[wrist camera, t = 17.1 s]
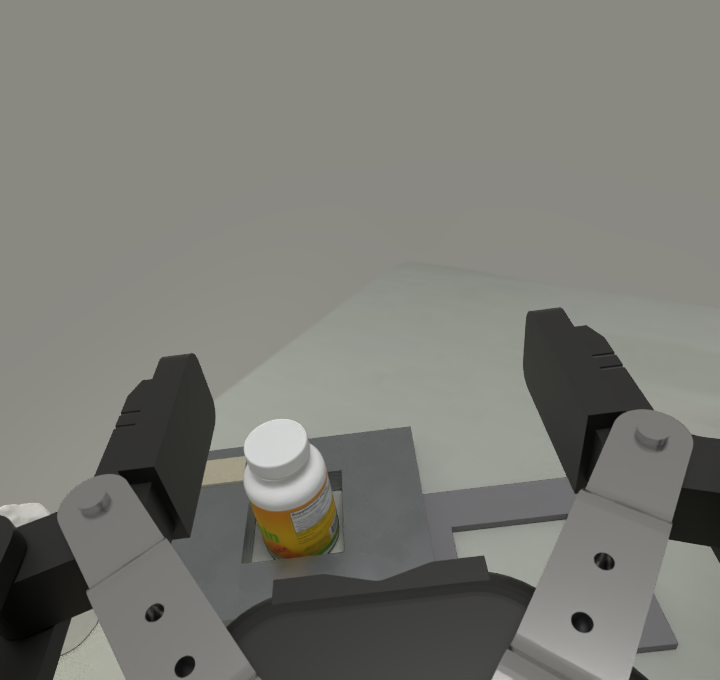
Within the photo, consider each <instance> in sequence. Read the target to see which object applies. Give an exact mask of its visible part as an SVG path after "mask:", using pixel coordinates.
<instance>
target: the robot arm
mask: <svg viewBox="0 0 720 680" xmlns="http://www.w3.org/2000/svg"><path fill="white" fill-rule="evenodd" d="M523 370H524V377H525V381H526V385H527V387H528V390H529V392H530V394H531V397H532V399H533V401H534V403H535V406H536V408H537V410H538V412H539V415H540V417H541V419H542V421H543V424H544V426H545V428H546V430H547V433H548V435H549V437H550V439H551V442H552V444H553V446H554V448H555V451H556V453H557V455H558V457H559V460H560V462H561V464H562V467H563V469H564V471H565V473H566V476H567V478H568V480H569V482H570V485H571V487H572V489H573V491H574V494H578V495H577V497H576V499H575V501H574V504H573V506H572V508H571V510H570V513H569V515H568V517H567V519H566V522H565V524H564V526H563V528H562V531H561V533H560V535H559V538H558V540H557V542H556V544H555V547H554V549H553V551H552V553H551V556H550V558H549V560H548V562H547V565H546V567H545V569H544V572H543V574H542V576H541V578H540V581H539V583H538V585H537V587H536V588H535V587H533V586H531V585H529V584H527V583H525V582H523V581H520V580H518V579H515V578H512V577H510V576H506V575H502V574H498V573H492V572H488V569H487V565H486V561H485V557H484V556H476V557H468V558H459V559H450V560H441V561H433V562H429V563H427V564H424V565H421V566H419V567H416V568H414V569H411V570H408V571H406V572H403V573H400V574H398V575H395V576H392V577H390V578H387V579H384V580H380V581H373V580H365V579H358V578H351V577H343V576H336V575H329V574H320V575H311V576H303V577H294V578H285V579H277V580H273V590H272V597H271V598H268V599H266V600H264V601H262V602H260V603H258V604H256V605H254V606H252V607H251V608H249V609H248V610H246V611H245V612H243V613H242V614H240V615H239V616H238V617H237V618H236V619H234V620H233V621H232V622H231V623H230V624H229V625H228V626H227V627H225V625H224V624H223V622H222V621H221V619H220V618H219V616H218V615H217V613H216V612H215V610H214V609H213V607H212V606H211V604H210V603H209V601H208V600H207V598H206V597H205V595H204V594H203V592H202V591H201V589H200V588H199V586H198V585H197V583H196V582H195V580H194V579H193V577H192V576H191V574H190V573H189V571H188V570H187V568H186V567H185V565H184V564H183V562H182V561H181V559H180V557H179V556H178V554H177V553H176V551H175V550H174V548H173V547H172V545H171V543H172V540H175V539H183V538H190V536H191V532H192V527H193V522H194V518H195V513H196V509H197V504H198V500H199V495H200V490H201V486H202V481H203V477H204V472H205V468H206V463H207V458H208V454H209V449H210V445H211V440H212V436H213V431H214V426H215V407H214V402H213V399H212V396H211V393H210V390H209V388H208V385H207V383H206V380H205V377H204V375H203V372H202V369H201V366H200V364H199V361H198V359H197V357H196V355H195V354H193V353H191V354H183V355H175V356H168V357H162V358H161V359H160V361H159V363H158V366H157V368H156V371H155V374H154V376H153V379H150V380H143V381H142V382H141V383H140V384H139V385H138V386H137V387H136V388H135V389H134V390H133V391H132V392H131V393H130V394H129V395H128V397H127V399H126V402H125V404H124V407H123V409H122V412H121V416H119V419H118V421H117V423H116V429H114V430H113V433H112V435H111V438H110V440H109V442H108V445H107V448H106V450H105V452H104V455H103V457H102V459H101V462H100V464H99V467H98V469H97V471H96V474H95V476H94V477H93V478H90V479H88V480H86V481H84V482H82V483H81V484H79V485H78V486H77V487H75V488H74V489H73V490H72V491H71V492H70V493H69V494H67V496H66V497H65V498H64V500H63V501H62V503H61V504H60V507H59V509H58V512H55V513H53V514H51V515H48V516H45V517H43V518H40V519H37V520H35V521H32V522H29V523H27V524H24V525H22V526H19V527H15V526H14V524H13V523H12V522H11V521H10V520H9V519H8V518H7V517H5V516H2V515H0V680H53V677H54V674H55V671H56V668H57V664H58V661H59V658H60V655H61V651H62V648H63V645H64V641H65V638H66V635H67V632H68V628H69V625H70V622H71V619H72V618H73V617H75V616H77V615H80V614H82V613H84V612H87V611H89V610H91V609H94V612H95V614H96V616H97V618H98V620H99V622H100V624H101V627H102V629H103V631H104V633H105V635H106V637H107V640H108V642H109V644H110V646H111V648H112V650H113V653H114V655H115V657H116V659H117V661H118V663H119V666H120V668H121V670H122V672H123V674H124V676H125V678H126V680H648V679H647V678H646V677H645V676H644V675H643V674H641V673H640V672H639V671H638V670H637V669H635V668H634V667H633V663H634V660H635V656H636V652H637V649H638V645H639V642H640V638H641V635H642V631H643V628H644V624H645V620H646V617H647V613H648V610H649V606H650V603H651V599H652V596H653V592H654V588H655V585H656V581H657V578H658V574H659V571H660V567H661V564H662V560H663V556H664V553H665V549H666V546H667V542H668V539H670V540H675V541H681V542H687V543H693V544H699V545H705V546H710V547H711V548H712V550H713V552H714V554H715V555H716V557H717V559H718V561H719V563H720V439H715V438H707V437H701V436H696V435H692V434H691V433H690V432H689V430H688V429H687V428H686V427H685V426H684V425H683V424H682V423H681V422H680V421H678V420H677V419H675V418H673V417H671V416H669V415H667V414H664V413H662V412H658V411H654V409H653V408H652V406H651V405H650V404H649V402H648V401H647V399H646V398H645V396H644V395H643V393H642V392H641V390H640V389H639V387H638V386H637V385H636V383H635V382H634V380H633V379H632V377H631V376H630V374H629V373H628V371H627V370H626V368H625V367H623V364H622V363H621V361H620V360H619V358H618V357H617V355H615V354H614V351H613V349H612V348H611V347H610V345H609V344H608V342H607V341H606V339H605V338H604V337H603V336H602V335H600V334H599V333H597V332H596V331H594V330H593V329H591V328H590V327H588V326H587V325H585V326H577V327H574V326H573V324H572V323H571V321H570V319H569V318H568V316H567V315H566V313H565V311H564V310H563V309H562V308H560V307H559V308H551V309H544V310H536V311H529V312H528V313H527V317H526V327H525V342H524V356H523Z"/></svg>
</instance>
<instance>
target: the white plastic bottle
mask: <svg viewBox="0 0 720 680" xmlns="http://www.w3.org/2000/svg"><path fill="white" fill-rule="evenodd" d="M0 515H2V516H5V517H7V518H8V519H9V520H10V521H11V522H12V523H13V524H14V526H15V527H19V526H22V525H24V524H27V523H29V522H32V521H35V520H37V519H40V518H43V517H45V516H48V515H51V514H50V513H49V511H48V510H47V509H46V508H44V507H43V506H42V505H41V504H39V503H28V504H21V505H16V504H11V505H4V506H2V507H0ZM97 622H98V618H97V616H96V614H95V612H94V609H91V610H89V611H87V612H84V613H82V614H80V615H77V616H75V617H73V618H72V619H71V622H70V625H69V628H68V632H67V635H66V638H65V641H64V645H63V648H62V651H61V655H63V654H65V653H67V652H69V651H70V650H72V649H74V648H75V647H77V646H78V645H79V644H80V643H81V642H82V641H83V640H84V639H85V638H86V637H87V636H88V635H89V634H90V632H91V631H92V629H93V628H94V627H95V625H96V624H97ZM61 655H60V656H61Z"/></svg>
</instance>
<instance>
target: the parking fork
mask: <svg viewBox="0 0 720 680" xmlns="http://www.w3.org/2000/svg"><path fill="white" fill-rule="evenodd" d="M422 495H423V501H424V507H425V513H426V518H427V524H428V530H429V536H430V541H431V547H432V553H433V559H434V561H441V560H450V559H458V557H457V552H456V548H455V543H454V538H453V534H452V532H457V531H466V530H475V529H483V528H492V527H500V526H509V525H517V524H526V523H535V522H543V521H552V520H560V519H567V517H568V515H569V513H570V510H571V508H572V506H573V504H574V501H575V499H576V497H577V495H578V494H574V491H573V489H572V487H571V485H570V482H569V480H568V478H567V477H564V478H556V479H547V480H539V481H530V482H522V483H514V484H505V485H497V486H488V487H480V488H471V489H463V490H455V491H446V492H438V493H429V494H422ZM677 646H678V642H677V640H676V638H675V636H674V634H673V632H672V629H671V627H670V625H669V623H668V621H667V619H666V617H665V615H664V613H663V611H662V609H661V607H660V605H659V603H658V601H657V599H656V597H655V595H654V593H653V596H652V599H651V603H650V606H649V610H648V613H647V617H646V620H645V624H644V628H643V631H642V635H641V638H640V642H639V645H638V649H637V652H636V653H641V652H650V651H659V650H668V649H676V648H677Z"/></svg>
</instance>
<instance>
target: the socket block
mask: <svg viewBox="0 0 720 680" xmlns="http://www.w3.org/2000/svg"><path fill="white" fill-rule="evenodd" d="M308 440H309V443H310V444H312V445H313V446H314V447H316V448H317V449H318V451H319V452H320V453H321V455H322V457H323V459H324V462H325V465H326V469H327V473H328V477H329V482H330V486H331V490H332V491H334V490H342V494H343V524H344V552H340V553H331V554H323V555H314V556H306V557H297V558H288V559H280V560H271V561H263V562H254V563H251V559H252V550H253V541H254V533H255V524H256V518H255V515H254V512H253V510H252V507H251V505H250V502H249V499H248V497H247V494H246V491H245V488H244V482H243V479H244V471H245V468H246V466H247V461H246V458H245V454H244V447H238V448H230V449H222V450H214V451H209V454H208V458H207V463H206V468H205V472H204V477H203V481H202V486H201V490H200V495H199V500H198V504H197V509H196V513H195V518H194V522H193V527H192V532H191V536H190V538H183V539H175V540H172V543H171V545H172V547H173V548H174V550H175V551H176V553H177V554H178V556H179V557H180V559H181V561H182V562H183V564H184V565H185V567H186V568H187V570H188V571H189V573H190V574H191V576H192V577H193V579H194V580H195V582H196V583H197V585H198V586H199V588H200V589H201V591H202V592H203V594H204V595H205V597H206V598H207V600H208V601H209V603H210V604H211V606H212V607H213V609H214V610H215V612H216V613H217V615H218V616H219V618H220V619H221V621H222V622H223V624H224V625H225V627H227V626H228V625H229V624H230V623H231V622H232V621H233V620H234V619H236V618H237V617H238V616H239V615H240V614H242V613H243V612H245V611H246V610H248V609H249V608H251V607H252V606H254V605H256V604H258V603H260V602H262V601H264V600H266V599H268V598H271V597H272V590H273V580H277V579H285V578H294V577H303V576H311V575H320V574H329V575H336V576H343V577H351V578H358V579H365V580H373V581H380V580H384V579H387V578H390V577H392V576H395V575H398V574H400V573H403V572H406V571H408V570H411V569H414V568H416V567H419V566H421V565H424V564H427V563H429V562H433V561H434V559H433V553H432V547H431V541H430V536H429V530H428V524H427V518H426V513H425V507H424V501H423V495H422V490H421V484H420V478H419V472H418V467H417V461H416V455H415V449H414V444H413V438H412V432H411V426H410V427H402V428H394V429H385V430H377V431H369V432H361V433H353V434H345V435H336V436H328V437H320V438H312V439H308Z"/></svg>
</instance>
